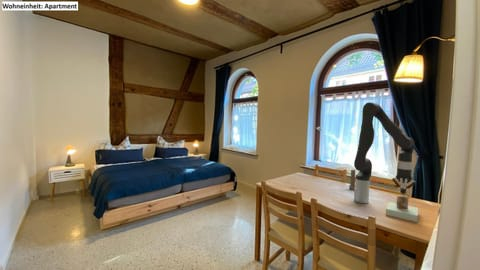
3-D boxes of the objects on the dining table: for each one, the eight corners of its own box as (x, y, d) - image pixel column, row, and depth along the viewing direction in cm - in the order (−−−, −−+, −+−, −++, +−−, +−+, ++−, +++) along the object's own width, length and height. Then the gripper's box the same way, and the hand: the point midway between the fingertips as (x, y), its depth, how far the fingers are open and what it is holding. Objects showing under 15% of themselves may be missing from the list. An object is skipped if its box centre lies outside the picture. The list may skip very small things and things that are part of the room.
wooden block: (362, 189, 191) (363, 169, 190) (351, 190, 189) (352, 170, 188) (359, 188, 195) (360, 168, 193) (349, 188, 193) (349, 169, 192)
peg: (395, 213, 140) (396, 196, 139) (396, 210, 145) (397, 194, 144) (407, 216, 136) (408, 198, 135) (407, 213, 141) (408, 196, 140)
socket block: (385, 214, 139) (386, 208, 139) (388, 207, 152) (388, 201, 151) (417, 222, 129) (417, 215, 129) (417, 213, 141) (417, 207, 141)
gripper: (417, 168, 137) (416, 194, 138) (392, 165, 145) (391, 190, 147) (417, 170, 131) (415, 197, 132) (391, 167, 140) (390, 193, 141)
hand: (402, 193), depth 139 cm, fingers closed
